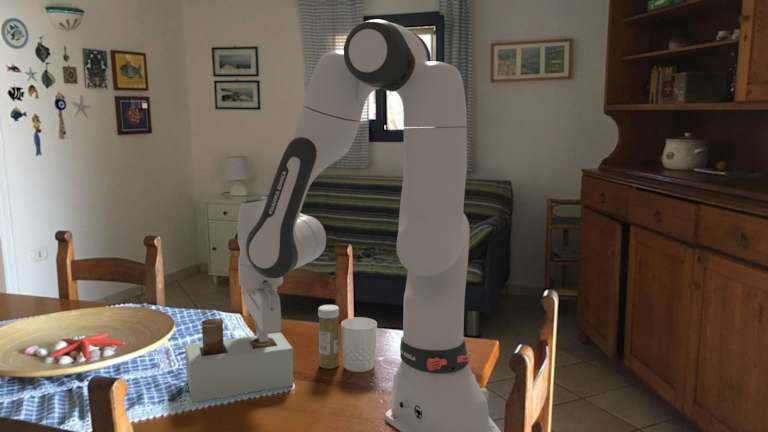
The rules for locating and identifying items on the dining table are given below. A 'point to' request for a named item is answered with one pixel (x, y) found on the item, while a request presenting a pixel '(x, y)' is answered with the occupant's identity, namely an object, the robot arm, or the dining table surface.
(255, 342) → the peg
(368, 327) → the white cup
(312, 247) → the robot arm
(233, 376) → the block
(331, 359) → the sprinkles bottle
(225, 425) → the dining table surface
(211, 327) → the peg
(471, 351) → the dining table surface
